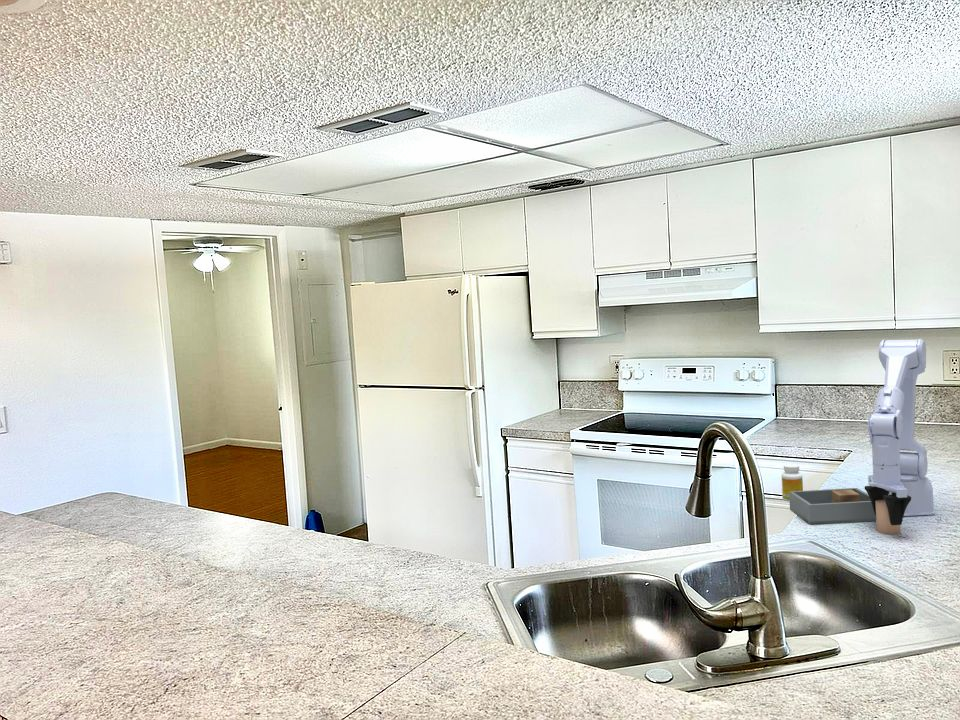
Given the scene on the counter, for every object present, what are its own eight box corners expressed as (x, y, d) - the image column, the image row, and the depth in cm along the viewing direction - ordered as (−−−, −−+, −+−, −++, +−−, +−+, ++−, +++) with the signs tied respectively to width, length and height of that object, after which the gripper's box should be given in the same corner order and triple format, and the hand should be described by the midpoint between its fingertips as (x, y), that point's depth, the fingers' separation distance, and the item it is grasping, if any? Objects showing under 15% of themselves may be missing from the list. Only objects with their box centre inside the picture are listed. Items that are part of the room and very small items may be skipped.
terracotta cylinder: (893, 527, 181) (892, 498, 181) (904, 533, 176) (903, 504, 176) (872, 528, 181) (871, 499, 181) (882, 534, 176) (881, 505, 176)
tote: (857, 506, 200) (856, 487, 200) (882, 521, 186) (881, 501, 186) (789, 510, 201) (789, 491, 200) (810, 524, 187) (809, 505, 187)
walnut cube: (851, 508, 196) (851, 489, 195) (860, 513, 191) (859, 494, 190) (832, 509, 196) (831, 490, 196) (840, 514, 191) (839, 495, 191)
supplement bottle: (805, 502, 207) (803, 467, 206) (784, 502, 208) (783, 467, 207) (801, 497, 212) (799, 463, 212) (780, 497, 213) (779, 463, 213)
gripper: (855, 458, 185) (856, 512, 186) (884, 471, 171) (885, 529, 171) (884, 456, 185) (886, 511, 186) (915, 469, 170) (917, 528, 171)
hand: (887, 520), depth 179 cm, fingers open, 7 cm apart
